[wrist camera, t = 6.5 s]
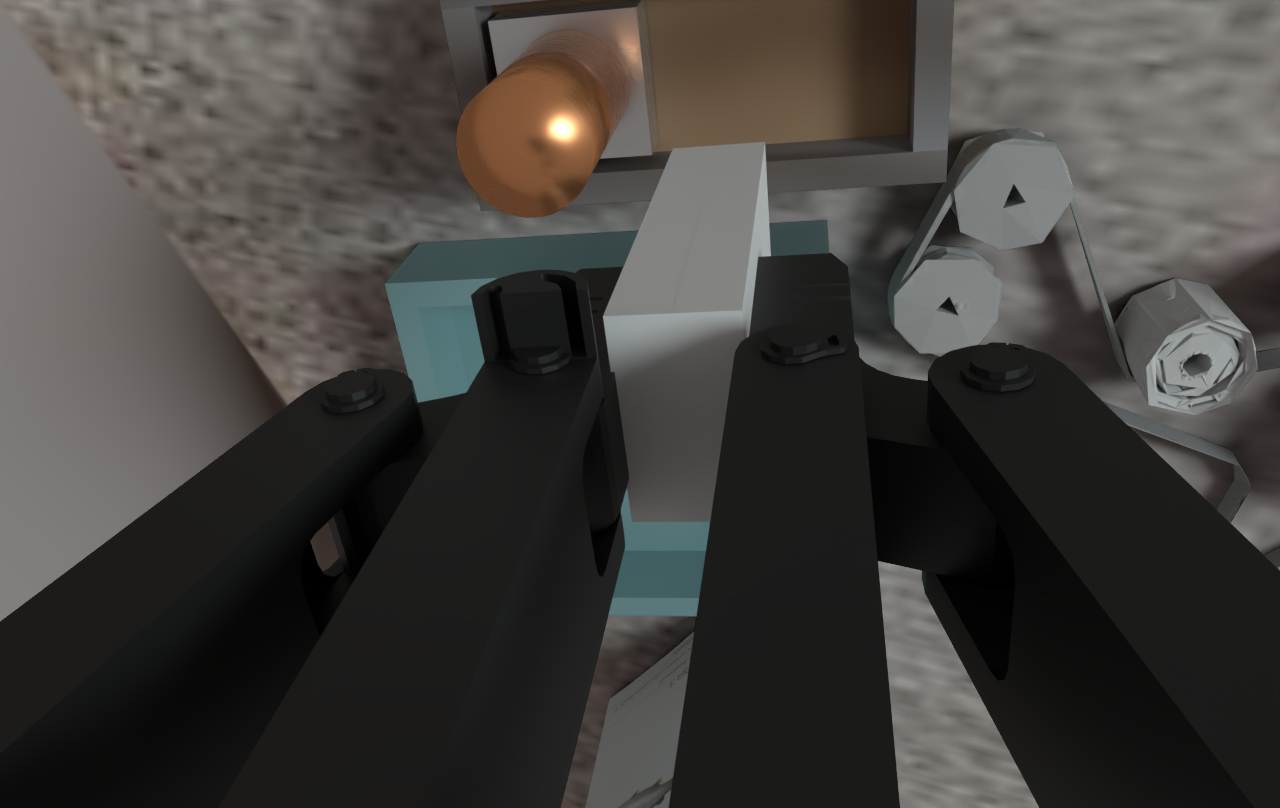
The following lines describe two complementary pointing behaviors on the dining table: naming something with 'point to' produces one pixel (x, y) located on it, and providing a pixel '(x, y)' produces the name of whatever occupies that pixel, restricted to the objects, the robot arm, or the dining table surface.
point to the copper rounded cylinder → (558, 103)
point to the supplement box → (642, 737)
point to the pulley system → (1149, 323)
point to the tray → (452, 356)
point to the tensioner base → (770, 87)
